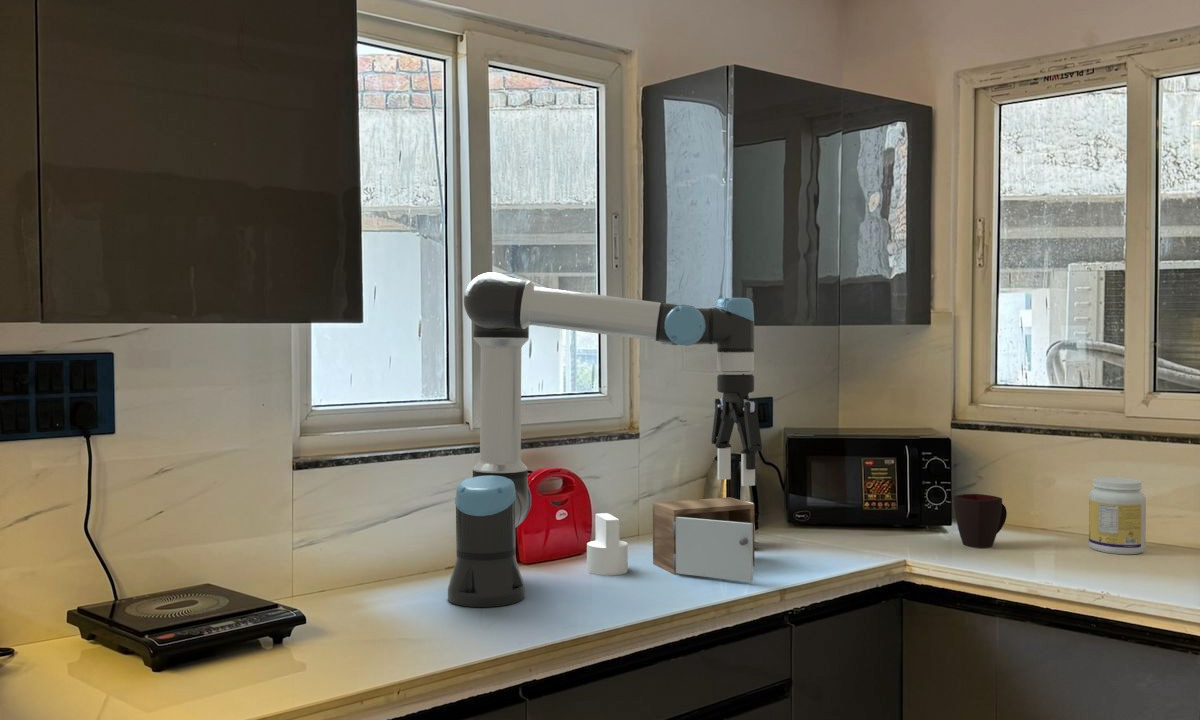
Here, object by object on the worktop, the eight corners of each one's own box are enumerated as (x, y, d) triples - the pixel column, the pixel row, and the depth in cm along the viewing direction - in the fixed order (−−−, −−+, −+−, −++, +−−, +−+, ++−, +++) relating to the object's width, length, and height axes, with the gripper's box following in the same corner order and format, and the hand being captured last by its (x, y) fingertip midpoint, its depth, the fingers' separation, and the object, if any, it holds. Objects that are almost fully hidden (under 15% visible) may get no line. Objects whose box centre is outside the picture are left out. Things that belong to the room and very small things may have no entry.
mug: (947, 544, 249) (947, 495, 249) (987, 538, 255) (987, 491, 255) (979, 551, 240) (979, 501, 240) (1019, 545, 246) (1019, 497, 246)
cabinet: (674, 574, 218) (673, 510, 218) (653, 563, 228) (652, 502, 228) (754, 566, 225) (754, 504, 225) (730, 556, 236) (730, 497, 235)
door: (669, 574, 216) (669, 518, 215) (674, 571, 218) (674, 516, 218) (748, 583, 207) (748, 525, 207) (752, 580, 209) (752, 523, 209)
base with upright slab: (633, 573, 219) (632, 518, 219) (593, 576, 216) (593, 521, 216) (620, 565, 228) (620, 512, 227) (582, 567, 225) (582, 514, 225)
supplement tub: (1098, 542, 250) (1098, 475, 249) (1152, 549, 241) (1152, 479, 241) (1081, 550, 241) (1081, 480, 241) (1136, 557, 232) (1136, 485, 232)
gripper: (780, 374, 197) (780, 488, 197) (725, 371, 217) (726, 474, 218) (746, 375, 194) (746, 490, 195) (694, 372, 215) (695, 476, 215)
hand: (735, 482), depth 206 cm, fingers open, 9 cm apart
